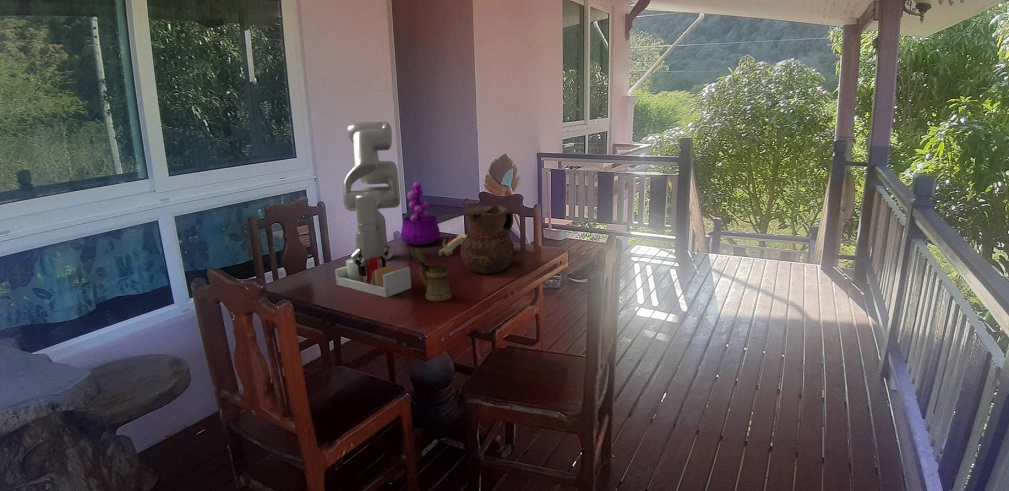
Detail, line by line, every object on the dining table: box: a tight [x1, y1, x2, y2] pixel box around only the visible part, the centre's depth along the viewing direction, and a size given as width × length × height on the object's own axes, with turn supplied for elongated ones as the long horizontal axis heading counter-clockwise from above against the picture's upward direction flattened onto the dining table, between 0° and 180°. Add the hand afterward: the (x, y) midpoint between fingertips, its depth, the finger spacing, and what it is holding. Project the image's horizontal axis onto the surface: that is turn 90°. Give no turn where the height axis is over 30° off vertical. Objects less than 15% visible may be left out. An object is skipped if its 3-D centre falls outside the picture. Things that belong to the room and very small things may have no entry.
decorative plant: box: [400, 181, 441, 246], centre depth 280 cm, size 19×18×30 cm
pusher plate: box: [374, 264, 395, 287], centre depth 214 cm, size 1×8×8 cm, turn 143°
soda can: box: [363, 256, 382, 285], centre depth 218 cm, size 7×7×12 cm
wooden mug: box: [411, 246, 453, 302], centre depth 203 cm, size 9×14×18 cm, turn 74°
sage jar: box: [345, 257, 364, 283], centre depth 224 cm, size 7×7×9 cm
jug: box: [460, 204, 515, 275], centre depth 233 cm, size 22×21×25 cm
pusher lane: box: [334, 266, 412, 298], centre depth 218 cm, size 28×12×8 cm, turn 53°
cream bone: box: [437, 234, 468, 257], centre depth 269 cm, size 10×9×25 cm
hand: (372, 272), depth 218 cm, fingers open, 9 cm apart
